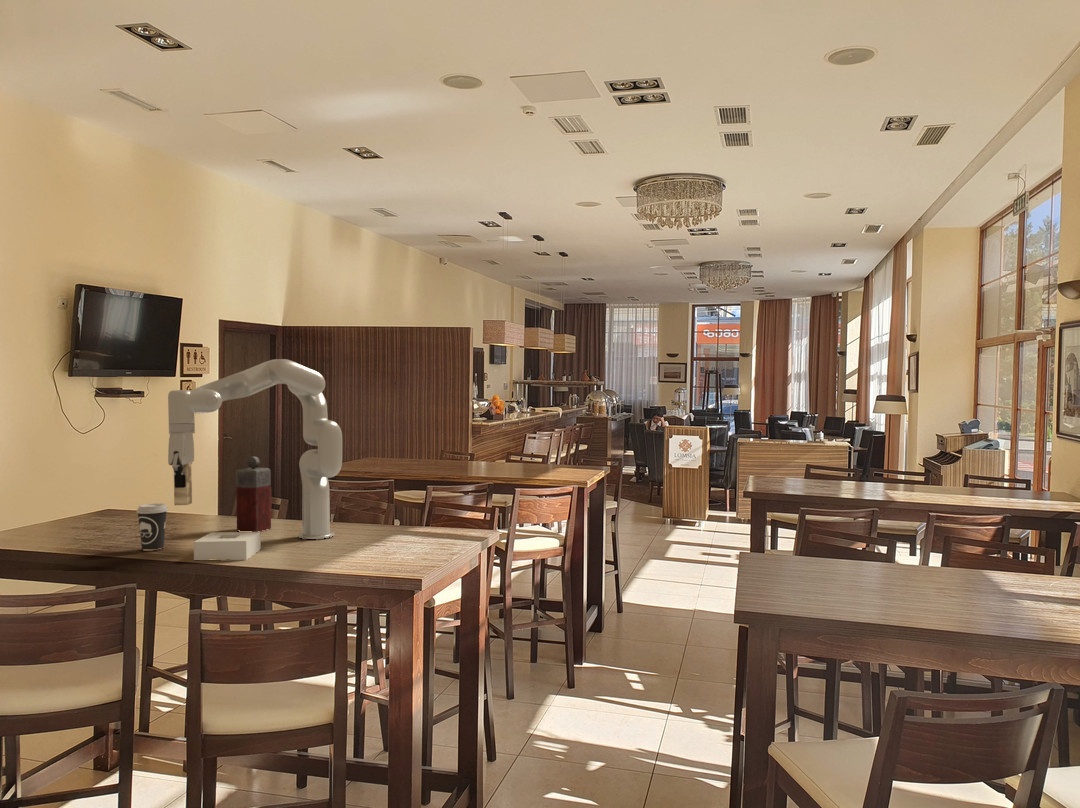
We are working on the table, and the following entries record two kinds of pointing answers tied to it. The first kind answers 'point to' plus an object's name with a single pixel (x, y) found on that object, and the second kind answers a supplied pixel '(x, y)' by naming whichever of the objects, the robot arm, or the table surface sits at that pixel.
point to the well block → (227, 545)
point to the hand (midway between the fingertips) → (182, 485)
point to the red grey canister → (253, 497)
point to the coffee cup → (152, 525)
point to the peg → (184, 494)
